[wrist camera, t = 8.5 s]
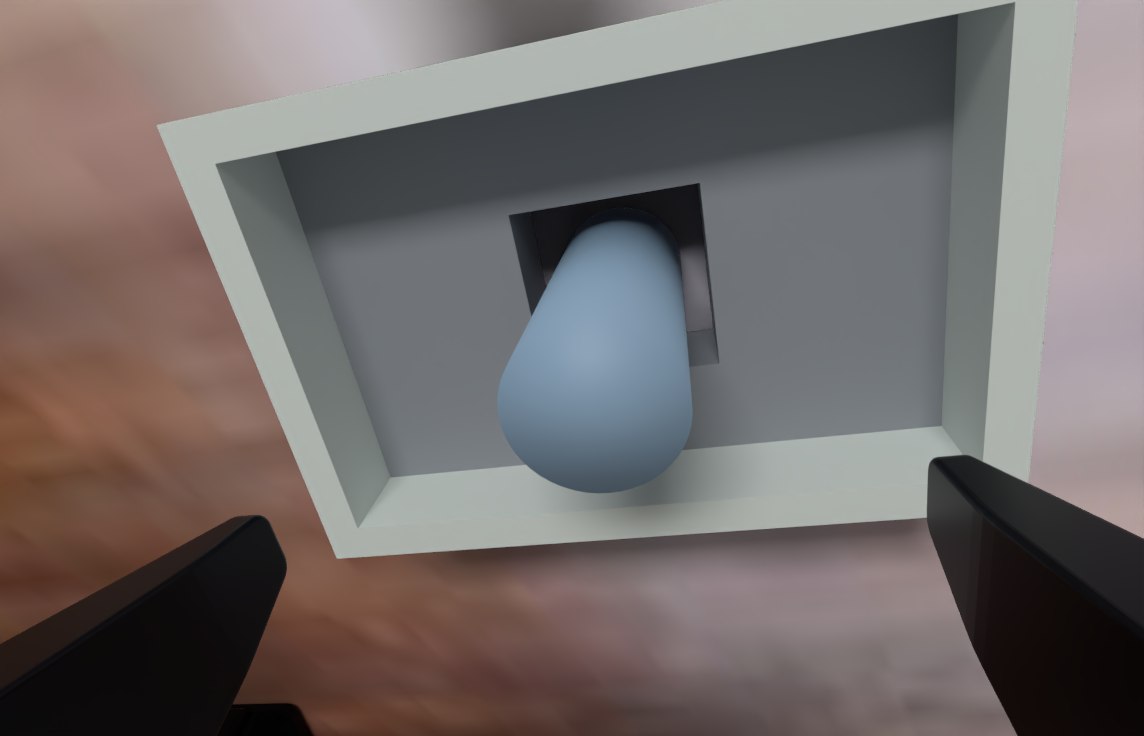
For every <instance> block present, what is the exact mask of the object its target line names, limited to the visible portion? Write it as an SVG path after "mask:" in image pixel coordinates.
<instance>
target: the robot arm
mask: <svg viewBox="0 0 1144 736" xmlns="http://www.w3.org/2000/svg"><path fill="white" fill-rule="evenodd" d="M927 522H928V528H929V531H930V535H931V537H932V540H933V543H934V545H935V548H936V551H937V553H938V556H939V559H940V561H941V564H942V567H943V570H944V572H945V575H946V578H947V580H948V583H949V586H950V588H951V591H952V594H953V596H954V599H955V602H956V604H957V607H958V610H959V612H960V615H961V618H962V620H963V623H964V626H965V628H966V631H967V633H968V636H969V639H970V641H971V644H972V646H973V648H974V651H975V653H976V655H977V657H978V659H979V661H980V663H981V665H982V667H983V669H984V671H985V673H986V675H987V677H988V679H989V681H990V683H991V685H992V687H993V689H994V691H995V693H996V695H997V696H998V698H999V700H1000V702H1001V704H1002V706H1003V708H1004V710H1005V712H1006V714H1007V716H1008V718H1009V720H1010V722H1011V724H1012V726H1013V728H1014V730H1015V732H1016V733H1017V735H1018V736H1144V539H1143V538H1141V537H1139V536H1137V535H1135V534H1133V533H1131V532H1129V531H1127V530H1125V529H1122V528H1120V527H1118V526H1116V525H1114V524H1112V523H1110V522H1108V521H1106V520H1104V519H1102V518H1100V517H1097V516H1095V515H1093V514H1091V513H1089V512H1087V511H1085V510H1083V509H1081V508H1079V507H1077V506H1075V505H1072V504H1070V503H1068V502H1066V501H1064V500H1062V499H1060V498H1058V497H1056V496H1054V495H1052V494H1050V493H1047V492H1045V491H1043V490H1041V489H1039V488H1037V487H1035V486H1033V485H1031V484H1029V483H1027V482H1025V481H1022V480H1020V479H1018V478H1016V477H1014V476H1012V475H1010V474H1008V473H1006V472H1004V471H1002V470H1000V469H998V468H995V467H993V466H991V465H989V464H987V463H985V462H983V461H981V460H979V459H977V458H975V457H972V456H970V455H955V456H943V457H935V458H933V459H932V460H931V461H930V463H929V467H928V484H927ZM286 571H287V562H286V558H285V555H284V553H283V551H282V548H281V546H280V544H279V542H278V540H277V537H276V535H275V533H274V531H273V529H272V527H271V524H270V522H269V521H268V520H267V519H266V518H265V517H264V516H261V515H248V516H237V517H234V518H231V519H230V520H228V521H226V522H224V523H222V524H220V525H218V526H217V527H215V528H213V529H211V530H209V531H207V532H206V533H204V534H202V535H200V536H198V537H196V538H195V539H193V540H191V541H189V542H187V543H185V544H184V545H182V546H180V547H178V548H176V549H174V550H172V551H171V552H169V553H167V554H165V555H163V556H161V557H160V558H158V559H156V560H154V561H152V562H150V563H149V564H147V565H145V566H143V567H141V568H139V569H138V570H136V571H134V572H132V573H130V574H128V575H126V576H125V577H123V578H121V579H119V580H117V581H115V582H114V583H112V584H110V585H108V586H106V587H104V588H103V589H101V590H99V591H97V592H95V593H93V594H92V595H90V596H88V597H86V598H84V599H82V600H81V601H79V602H77V603H75V604H73V605H71V606H69V607H68V608H66V609H64V610H62V611H60V612H58V613H57V614H55V615H53V616H51V617H49V618H47V619H46V620H44V621H42V622H40V623H38V624H36V625H35V626H33V627H31V628H29V629H27V630H25V631H23V632H22V633H20V634H18V635H16V636H14V637H12V638H11V639H9V640H7V641H5V642H3V643H1V644H0V736H309V734H308V732H307V730H306V728H305V726H304V724H303V722H302V720H301V718H300V716H299V714H298V712H297V711H296V709H295V708H294V707H292V706H290V705H288V704H253V705H232V704H233V702H234V700H235V698H236V696H237V694H238V692H239V690H240V688H241V685H242V683H243V681H244V679H245V677H246V675H247V673H248V670H249V668H250V665H251V663H252V661H253V658H254V656H255V653H256V651H257V648H258V646H259V643H260V640H261V638H262V635H263V633H264V630H265V628H266V625H267V622H268V620H269V617H270V615H271V612H272V610H273V607H274V604H275V602H276V599H277V597H278V594H279V592H280V589H281V586H282V584H283V581H284V579H285V576H286Z"/></svg>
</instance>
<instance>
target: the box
mask: <svg viewBox="0 0 1144 736" xmlns="http://www.w3.org/2000/svg"><path fill="white" fill-rule="evenodd" d="M1077 10H1078V0H724V1H720V2H715V3H710V4H706V5H701V6H697V7H692V8H688V9H683V10H679V11H674V12H669V13H665V14H660V15H656V16H651V17H647V18H642V19H637V20H633V21H628V22H624V23H619V24H615V25H610V26H606V27H601V28H596V29H592V30H587V31H583V32H578V33H574V34H569V35H565V36H560V37H555V38H551V39H546V40H542V41H537V42H533V43H528V44H524V45H519V46H514V47H510V48H505V49H501V50H496V51H492V52H487V53H482V54H478V55H473V56H469V57H464V58H460V59H455V60H451V61H446V62H441V63H437V64H432V65H428V66H423V67H419V68H414V69H410V70H405V71H400V72H396V73H391V74H387V75H382V76H378V77H373V78H369V79H364V80H359V81H355V82H350V83H346V84H341V85H337V86H332V87H327V88H323V89H318V90H314V91H309V92H305V93H300V94H296V95H291V96H286V97H282V98H277V99H273V100H268V101H264V102H259V103H255V104H250V105H245V106H241V107H236V108H232V109H227V110H223V111H218V112H214V113H209V114H204V115H200V116H195V117H191V118H186V119H182V120H177V121H172V122H168V123H163V124H159V125H157V128H158V130H159V132H160V135H161V137H162V140H163V142H164V144H165V147H166V149H167V152H168V154H169V156H170V159H171V161H172V164H173V166H174V168H175V171H176V173H177V176H178V178H179V180H180V183H181V185H182V188H183V190H184V192H185V195H186V197H187V200H188V202H189V205H190V207H191V209H192V212H193V214H194V217H195V219H196V221H197V224H198V226H199V229H200V231H201V233H202V236H203V238H204V241H205V243H206V245H207V248H208V250H209V253H210V255H211V257H212V260H213V262H214V265H215V267H216V269H217V272H218V274H219V277H220V279H221V281H222V284H223V286H224V289H225V291H226V293H227V296H228V298H229V301H230V303H231V305H232V308H233V310H234V313H235V315H236V317H237V320H238V322H239V325H240V327H241V329H242V332H243V334H244V337H245V339H246V341H247V344H248V346H249V349H250V351H251V353H252V356H253V358H254V361H255V363H256V365H257V368H258V370H259V373H260V375H261V377H262V380H263V382H264V385H265V387H266V389H267V392H268V394H269V397H270V399H271V401H272V404H273V406H274V409H275V411H276V413H277V416H278V418H279V421H280V423H281V425H282V428H283V430H284V433H285V435H286V437H287V440H288V442H289V445H290V447H291V449H292V452H293V454H294V457H295V459H296V461H297V464H298V466H299V469H300V471H301V473H302V476H303V478H304V481H305V483H306V485H307V488H308V490H309V493H310V495H311V498H312V500H313V502H314V505H315V507H316V510H317V512H318V514H319V517H320V519H321V522H322V524H323V526H324V529H325V531H326V534H327V536H328V538H329V541H330V543H331V546H332V548H333V550H334V553H335V555H336V558H337V559H340V558H354V557H368V556H383V555H397V554H412V553H426V552H440V551H455V550H469V549H484V548H498V547H512V546H527V545H541V544H556V543H570V542H584V541H599V540H613V539H628V538H642V537H656V536H671V535H685V534H699V533H714V532H728V531H743V530H757V529H771V528H786V527H800V526H815V525H829V524H843V523H858V522H872V521H887V520H901V519H915V518H927V484H928V467H929V463H930V461H931V460H932V459H933V458H935V457H943V456H955V455H970V456H972V457H975V458H977V459H979V460H981V461H983V462H985V463H987V464H989V465H991V466H993V467H995V468H998V469H1000V470H1002V471H1004V472H1006V473H1008V474H1010V475H1012V476H1014V477H1016V478H1018V479H1020V480H1022V481H1025V482H1027V483H1028V480H1029V470H1030V461H1031V451H1032V441H1033V432H1034V422H1035V413H1036V403H1037V393H1038V384H1039V374H1040V365H1041V355H1042V345H1043V336H1044V326H1045V317H1046V307H1047V297H1048V288H1049V278H1050V269H1051V259H1052V249H1053V240H1054V230H1055V221H1056V211H1057V202H1058V192H1059V182H1060V173H1061V163H1062V154H1063V144H1064V134H1065V125H1066V115H1067V106H1068V96H1069V86H1070V77H1071V67H1072V58H1073V48H1074V38H1075V29H1076V19H1077ZM696 183H697V186H698V195H699V204H700V213H701V222H702V231H703V240H704V249H705V258H706V267H707V276H708V285H709V294H710V303H711V312H712V321H713V329H709V330H701V331H693V332H686V333H687V345H688V358H689V370H690V382H691V395H692V409H693V415H692V425H691V429H690V433H689V436H688V439H687V441H686V444H685V446H684V448H683V449H682V451H681V453H680V454H679V456H678V457H677V458H676V459H675V461H674V462H673V463H672V464H671V465H670V466H669V467H668V468H667V469H666V470H665V471H664V472H663V473H661V474H660V475H658V476H657V477H656V478H654V479H652V480H651V481H649V482H647V483H645V484H643V485H640V486H638V487H635V488H632V489H629V490H625V491H620V492H613V493H586V492H580V491H575V490H571V489H568V488H565V487H562V486H559V485H557V484H555V483H552V482H550V481H548V480H547V479H545V478H543V477H541V476H540V475H538V474H537V473H536V472H534V471H533V470H531V469H530V468H529V467H528V466H527V465H526V464H525V463H524V462H523V461H522V460H521V459H520V458H519V457H518V456H517V455H516V453H515V452H514V451H513V449H512V448H511V446H510V445H509V443H508V441H507V439H506V437H505V435H504V433H503V430H502V427H501V424H500V421H499V415H498V406H497V398H498V389H499V385H500V381H501V378H502V375H503V373H504V370H505V368H506V366H507V364H508V362H509V360H510V358H511V356H512V354H513V352H514V350H515V348H516V346H517V344H518V342H519V340H520V338H521V337H522V335H523V333H524V331H525V329H526V327H527V325H528V323H529V321H530V319H531V317H532V315H533V313H534V311H535V309H536V307H537V305H538V303H539V301H540V299H541V297H542V295H543V293H544V291H545V289H546V284H545V280H544V275H543V270H542V266H541V261H540V256H539V252H538V247H537V242H536V237H535V233H534V228H533V223H532V219H531V214H530V211H536V210H542V209H548V208H554V207H560V206H566V205H572V204H578V203H584V202H590V201H596V200H601V199H607V198H613V197H619V196H625V195H631V194H637V193H643V192H649V191H655V190H661V189H667V188H672V187H678V186H684V185H690V184H696Z"/></svg>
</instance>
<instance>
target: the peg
mask: <svg viewBox="0 0 1144 736" xmlns="http://www.w3.org/2000/svg"><path fill="white" fill-rule="evenodd" d="M497 406H498V415H499V421H500V424H501V427H502V430H503V433H504V435H505V437H506V439H507V441H508V443H509V445H510V446H511V448H512V449H513V451H514V452H515V453H516V455H517V456H518V457H519V458H520V459H521V460H522V461H523V462H524V463H525V464H526V465H527V466H528V467H529V468H530V469H531V470H533V471H534V472H536V473H537V474H538V475H540V476H541V477H543V478H545V479H547V480H548V481H550V482H552V483H555V484H557V485H559V486H562V487H565V488H568V489H571V490H575V491H580V492H586V493H613V492H620V491H625V490H629V489H632V488H635V487H638V486H640V485H643V484H645V483H647V482H649V481H651V480H652V479H654V478H656V477H657V476H658V475H660V474H661V473H663V472H664V471H665V470H666V469H667V468H668V467H669V466H670V465H671V464H672V463H673V462H674V461H675V459H676V458H677V457H678V456H679V454H680V453H681V451H682V449H683V448H684V446H685V444H686V441H687V439H688V436H689V433H690V429H691V425H692V415H693V409H692V395H691V382H690V370H689V358H688V345H687V333H686V321H685V309H684V296H683V284H682V272H681V259H680V253H679V248H678V245H677V243H676V240H675V238H674V237H673V235H672V233H671V232H670V230H669V229H668V228H667V227H666V226H665V225H664V224H663V223H662V222H661V221H660V220H659V219H657V218H656V217H654V216H653V215H651V214H649V213H647V212H645V211H642V210H638V209H634V208H625V207H619V208H612V209H607V210H604V211H601V212H599V213H597V214H595V215H593V216H591V217H590V218H589V219H587V220H586V221H585V222H584V223H583V224H581V225H580V226H579V228H578V229H577V230H576V231H575V233H574V235H573V236H572V238H571V240H570V242H569V244H568V246H567V248H566V250H565V252H564V254H563V256H562V258H561V260H560V262H559V264H558V266H557V268H556V270H555V271H554V273H553V275H552V277H551V279H550V281H549V283H548V285H547V287H546V289H545V291H544V293H543V295H542V297H541V299H540V301H539V303H538V305H537V307H536V309H535V311H534V313H533V315H532V317H531V319H530V321H529V323H528V325H527V327H526V329H525V331H524V333H523V335H522V337H521V338H520V340H519V342H518V344H517V346H516V348H515V350H514V352H513V354H512V356H511V358H510V360H509V362H508V364H507V366H506V368H505V370H504V373H503V375H502V378H501V381H500V385H499V389H498V398H497Z"/></svg>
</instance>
